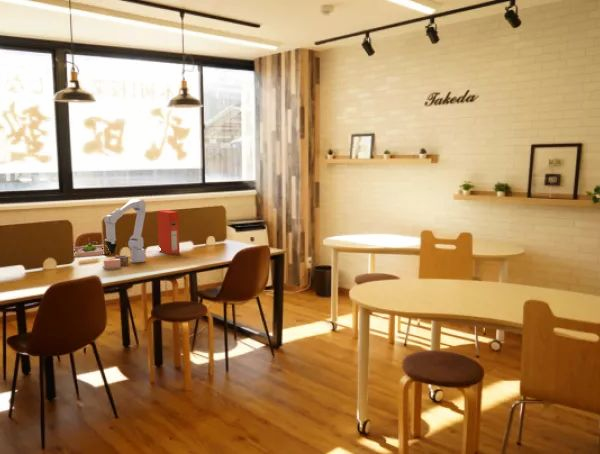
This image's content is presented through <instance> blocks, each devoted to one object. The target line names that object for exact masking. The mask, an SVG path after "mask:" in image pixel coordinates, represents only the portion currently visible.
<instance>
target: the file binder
mask: <svg viewBox="0 0 600 454" xmlns="http://www.w3.org/2000/svg"><path fill="white" fill-rule="evenodd" d="M179 220H180V219H179V212H178V211H174V210H169V209H163V210H157V234H158V248H159V247H160V248H161V251H162V252H163V254H167V255H170V256H173V255H177V254H180V225H179V224H180V223H179V222H180V221H179ZM162 252H161V253H162Z"/></svg>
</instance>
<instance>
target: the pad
mask: <svg viewBox="0 0 600 454" xmlns="http://www.w3.org/2000/svg"><path fill="white" fill-rule="evenodd" d="M102 268H103V270H104V271H112V269H114V270H122V267H114V268H104V265H103V266H102Z"/></svg>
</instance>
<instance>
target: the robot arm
mask: <svg viewBox="0 0 600 454" xmlns="http://www.w3.org/2000/svg"><path fill="white" fill-rule="evenodd" d="M146 205H147V203H146V201H145V200H143V199H136V198H131V199H130V200H129V201H128V202H126V204H125V205H123V206H122V207H121V208H115V210H114V211H112V212H110V214H106V215H105V216H104V217H103V222H104V224H105V235H106V236H105V237H106V239H104V241H105V244H106V247H107V248H108V250H109V252H110V255H113V254H115V253H116V247H117V245H118V243H116V242H115V241H117V238H116V223H117V221H118V220H119V219H120V218H122V217H123V216H124V213H126V212H128V211H130V210H131V209H132V210H134V211H135V212H136V217H135V224H134V227H133V229H134V230H133V234H132V235H131V236H130V237H129V240H128V242H127V245H128V247H129V249H130V259H129V261H130V263H133V264H134V263H144V262H146V251H145V248H143V247H144V238H143V237H142V234H143V229H144V222H145V216H146Z"/></svg>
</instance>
